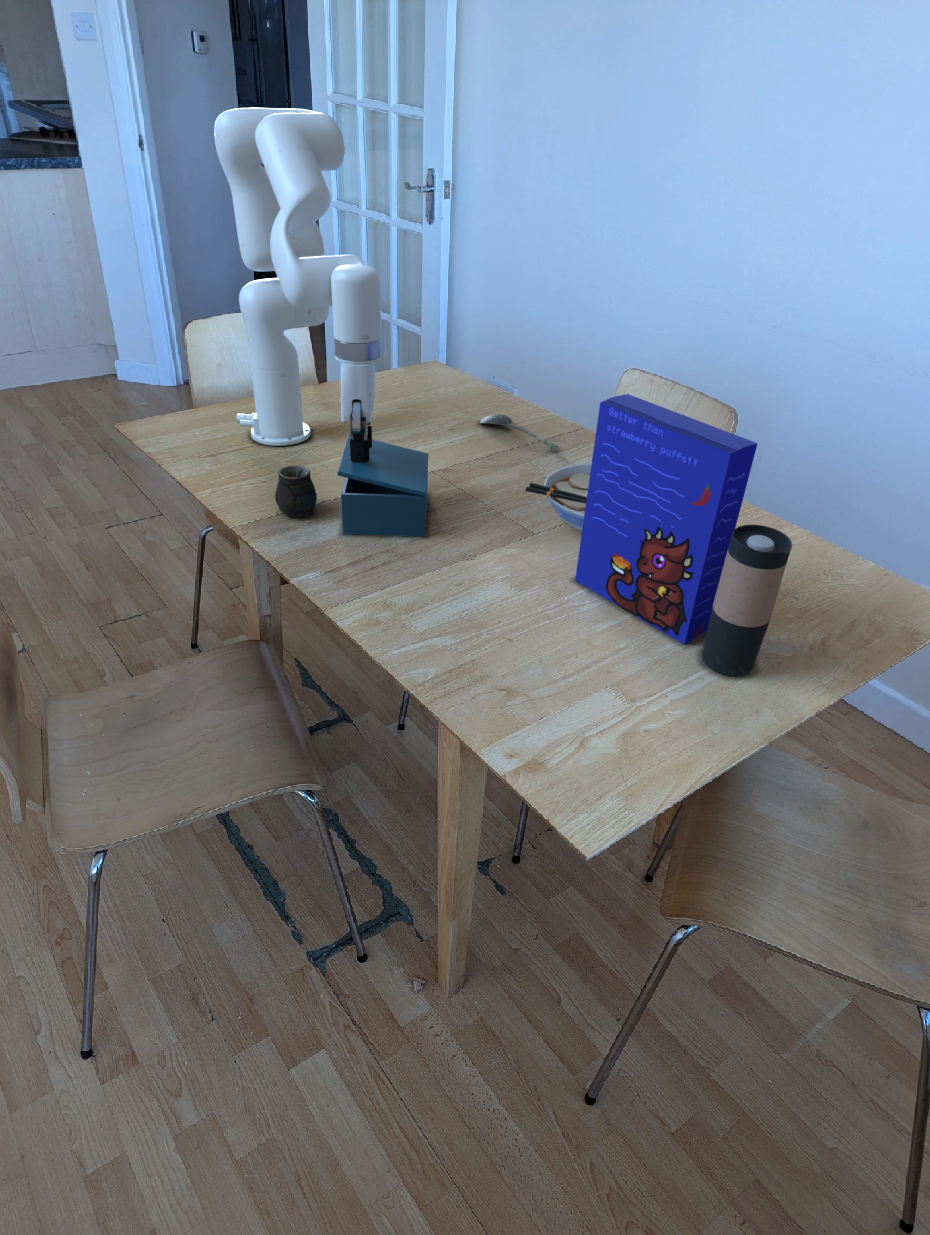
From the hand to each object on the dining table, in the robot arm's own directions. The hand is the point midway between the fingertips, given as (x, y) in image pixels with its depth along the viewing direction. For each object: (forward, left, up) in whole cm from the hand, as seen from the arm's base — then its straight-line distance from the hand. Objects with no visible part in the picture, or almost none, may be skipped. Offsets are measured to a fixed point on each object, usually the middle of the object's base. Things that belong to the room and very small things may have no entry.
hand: (361, 453), depth 142 cm
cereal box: (+45, -27, -12) cm, 54 cm away
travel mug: (+55, -41, -12) cm, 70 cm away
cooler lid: (+4, 0, -2) cm, 5 cm away
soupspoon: (+31, +39, -12) cm, 51 cm away
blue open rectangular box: (+4, 0, -12) cm, 12 cm away
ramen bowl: (+43, -2, -12) cm, 45 cm away
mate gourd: (-12, -1, -12) cm, 17 cm away
